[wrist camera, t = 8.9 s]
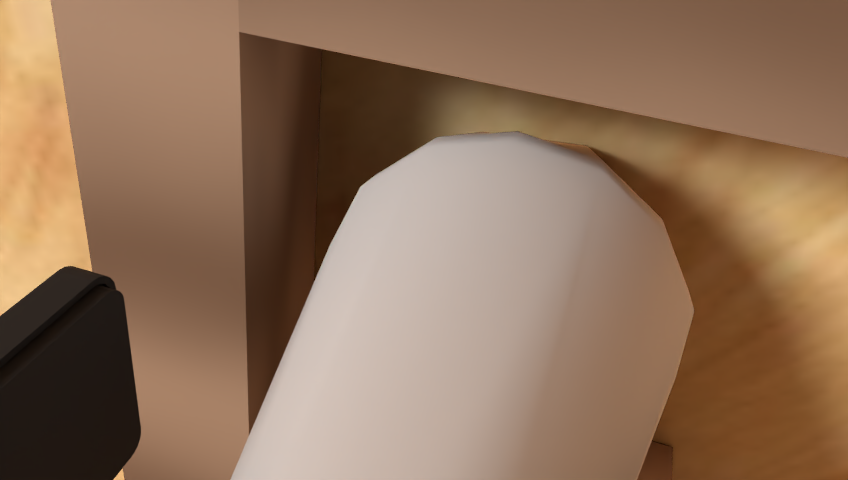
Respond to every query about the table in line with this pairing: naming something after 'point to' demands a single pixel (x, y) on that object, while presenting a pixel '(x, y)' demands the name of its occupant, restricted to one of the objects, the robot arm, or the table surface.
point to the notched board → (298, 152)
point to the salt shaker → (481, 325)
